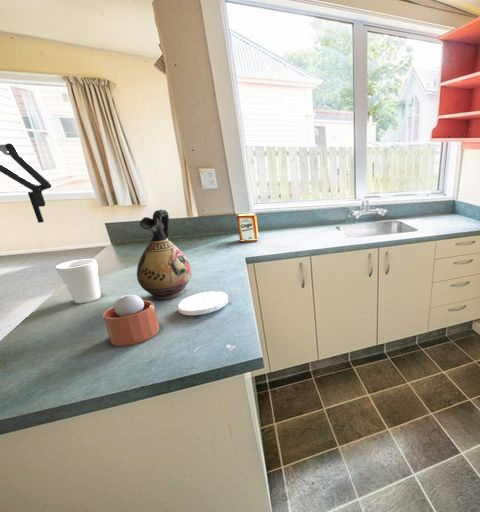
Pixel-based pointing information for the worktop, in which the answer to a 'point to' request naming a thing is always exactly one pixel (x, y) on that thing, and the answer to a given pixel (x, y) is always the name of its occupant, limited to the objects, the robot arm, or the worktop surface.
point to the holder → (131, 325)
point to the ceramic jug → (162, 261)
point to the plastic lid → (202, 303)
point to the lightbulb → (128, 305)
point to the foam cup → (80, 279)
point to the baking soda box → (247, 227)
